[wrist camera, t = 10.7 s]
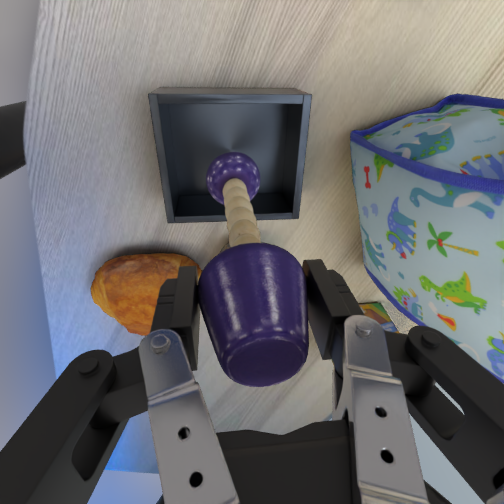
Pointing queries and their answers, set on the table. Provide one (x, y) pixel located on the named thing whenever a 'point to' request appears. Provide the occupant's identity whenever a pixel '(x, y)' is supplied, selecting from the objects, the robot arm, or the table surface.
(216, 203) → the open box
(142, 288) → the croissant
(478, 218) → the lunch bag
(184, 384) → the robot arm
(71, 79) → the table surface
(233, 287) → the toy lamp
